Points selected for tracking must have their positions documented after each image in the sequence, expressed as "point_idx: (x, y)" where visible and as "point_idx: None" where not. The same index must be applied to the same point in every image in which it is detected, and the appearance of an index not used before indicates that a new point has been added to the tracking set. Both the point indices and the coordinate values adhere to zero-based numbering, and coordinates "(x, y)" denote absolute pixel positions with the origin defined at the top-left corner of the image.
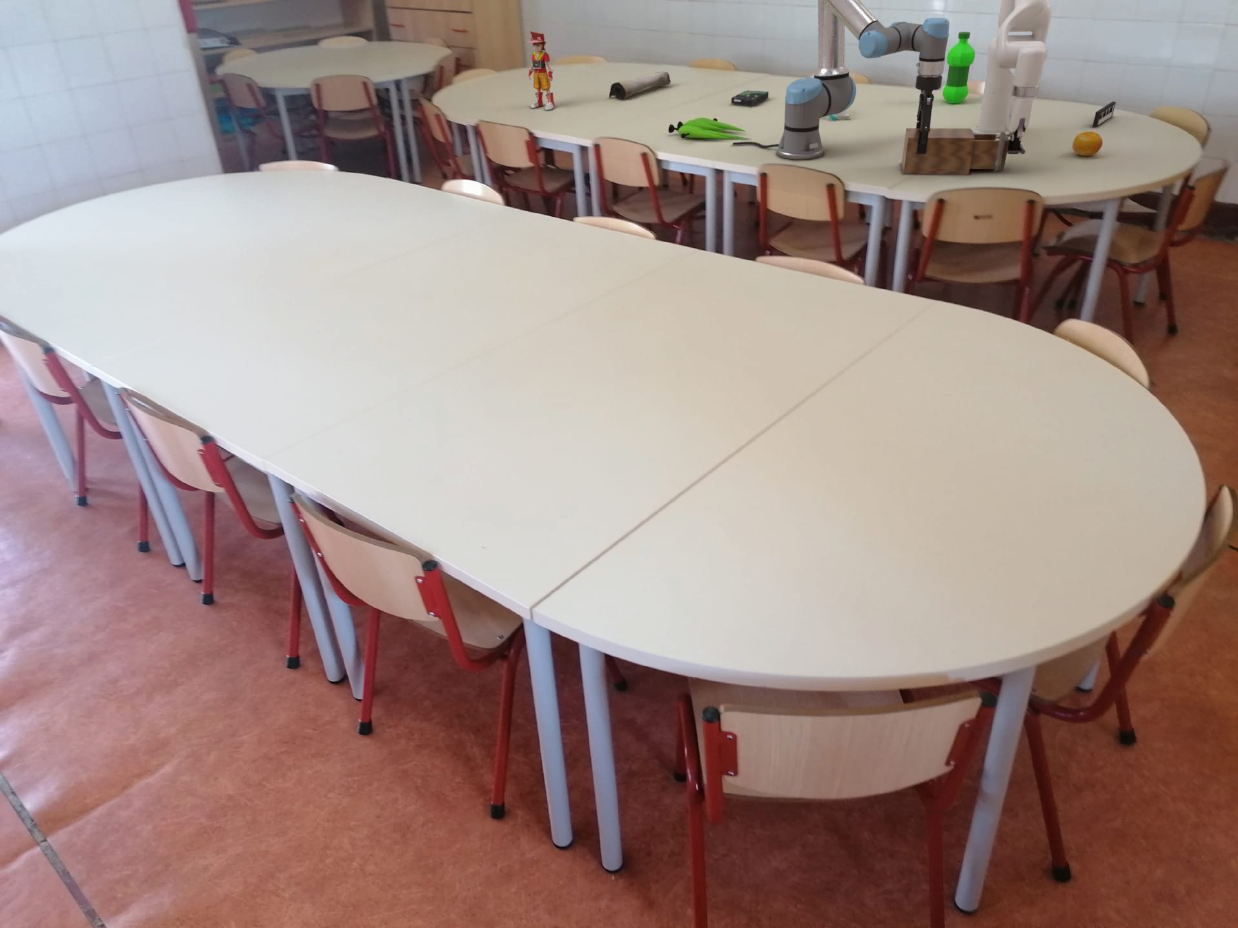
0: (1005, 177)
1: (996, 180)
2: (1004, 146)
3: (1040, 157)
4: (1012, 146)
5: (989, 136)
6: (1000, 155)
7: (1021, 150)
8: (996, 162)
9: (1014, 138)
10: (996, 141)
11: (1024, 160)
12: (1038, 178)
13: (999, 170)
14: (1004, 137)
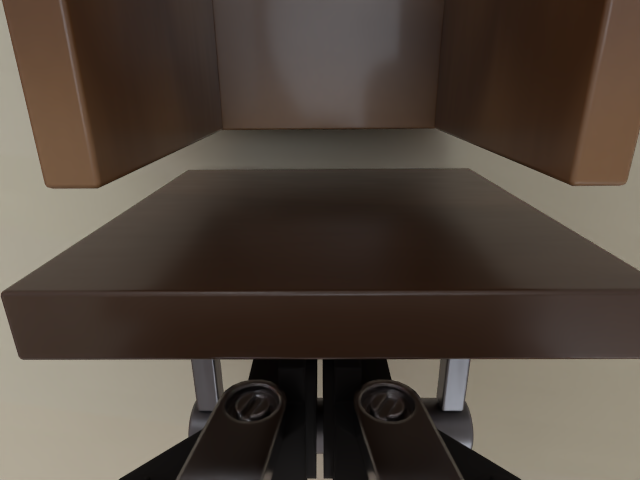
0: (121, 204)
1: (22, 123)
2: (67, 253)
3: (606, 475)
4: (253, 359)
5: (579, 33)
6: (265, 197)
7: (195, 424)
8: (406, 171)
9: (169, 455)
10: (37, 120)
11: (556, 383)
12: (141, 404)
13: (193, 170)
14: (253, 308)
